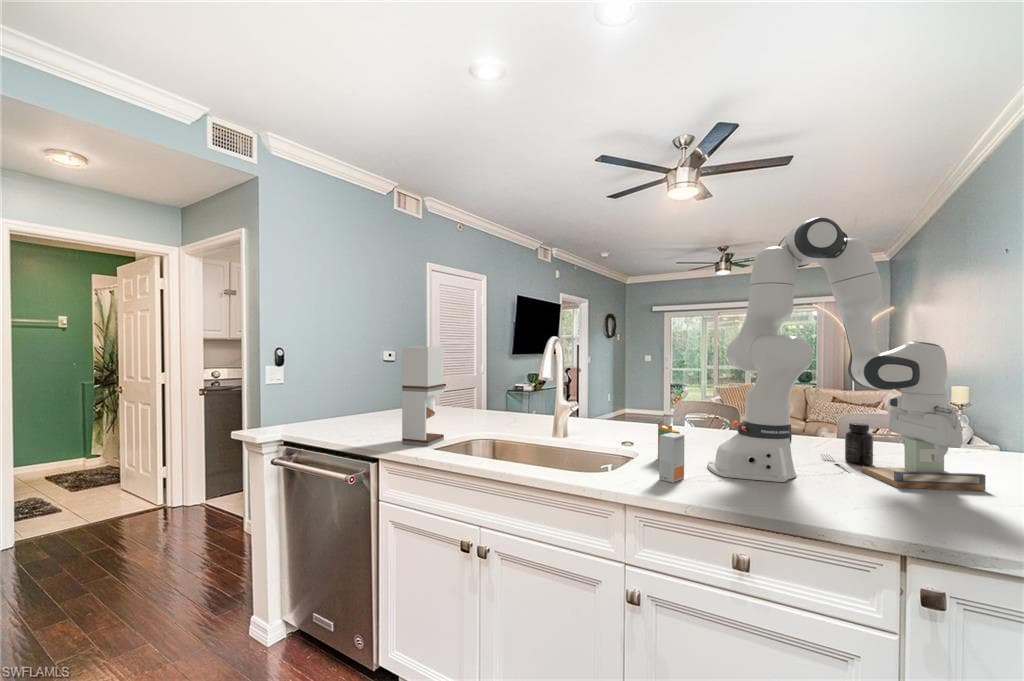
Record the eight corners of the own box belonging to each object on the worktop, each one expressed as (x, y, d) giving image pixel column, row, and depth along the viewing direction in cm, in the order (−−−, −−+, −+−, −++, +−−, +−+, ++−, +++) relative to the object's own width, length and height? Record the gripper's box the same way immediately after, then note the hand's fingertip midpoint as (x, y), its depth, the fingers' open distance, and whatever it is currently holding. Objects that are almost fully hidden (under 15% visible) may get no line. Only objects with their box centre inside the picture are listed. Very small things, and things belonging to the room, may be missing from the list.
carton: (944, 481, 116) (944, 442, 116) (916, 480, 117) (916, 441, 117) (931, 476, 120) (931, 438, 120) (904, 475, 121) (904, 438, 121)
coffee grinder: (427, 446, 160) (427, 347, 161) (402, 444, 164) (402, 347, 164) (443, 439, 171) (443, 346, 171) (419, 437, 175) (419, 346, 175)
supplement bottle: (878, 467, 135) (878, 426, 135) (852, 465, 136) (852, 425, 136) (865, 460, 141) (865, 422, 141) (840, 459, 143) (840, 421, 143)
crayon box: (680, 463, 138) (680, 425, 138) (671, 464, 137) (671, 426, 137) (665, 457, 145) (665, 421, 145) (657, 458, 144) (657, 422, 144)
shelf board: (897, 488, 115) (897, 472, 115) (861, 471, 129) (861, 457, 129) (986, 491, 113) (986, 475, 113) (940, 474, 127) (940, 460, 127)
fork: (859, 482, 121) (859, 475, 121) (818, 459, 145) (819, 453, 145) (873, 483, 121) (873, 476, 121) (830, 459, 144) (830, 454, 144)
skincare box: (673, 483, 119) (673, 437, 119) (658, 479, 122) (658, 435, 122) (685, 478, 123) (685, 434, 123) (670, 475, 126) (670, 432, 126)
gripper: (971, 410, 107) (971, 469, 107) (908, 399, 128) (908, 448, 128) (942, 409, 108) (941, 467, 108) (884, 398, 129) (883, 447, 129)
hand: (923, 457), depth 118 cm, fingers open, 8 cm apart
